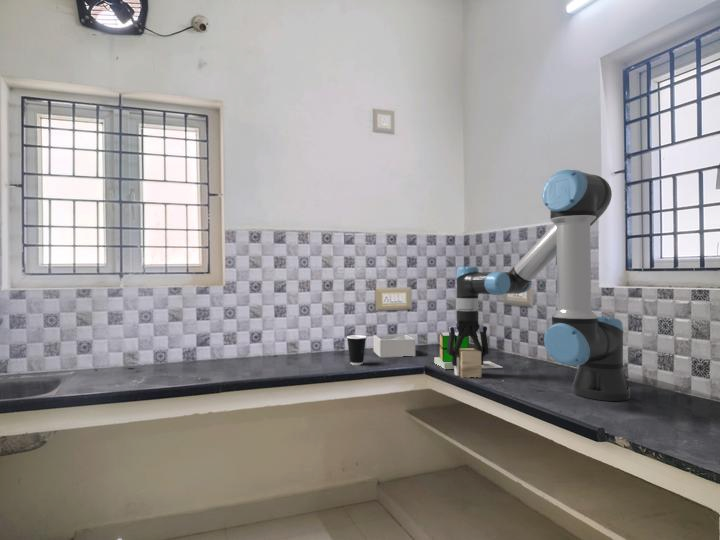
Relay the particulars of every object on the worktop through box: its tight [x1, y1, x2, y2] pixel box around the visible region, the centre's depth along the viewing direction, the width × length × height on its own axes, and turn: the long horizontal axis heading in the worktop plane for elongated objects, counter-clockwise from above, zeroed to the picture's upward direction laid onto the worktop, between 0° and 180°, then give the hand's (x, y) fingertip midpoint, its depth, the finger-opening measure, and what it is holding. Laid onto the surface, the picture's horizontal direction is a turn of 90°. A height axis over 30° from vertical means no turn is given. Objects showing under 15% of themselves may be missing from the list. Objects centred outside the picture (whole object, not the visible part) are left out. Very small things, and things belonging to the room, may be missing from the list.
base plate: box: [433, 356, 454, 370], centre depth 172 cm, size 12×12×2 cm
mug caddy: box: [373, 334, 416, 358], centre depth 199 cm, size 16×16×8 cm
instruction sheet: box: [481, 360, 504, 369], centre depth 174 cm, size 12×9×1 cm
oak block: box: [457, 347, 482, 379], centre depth 156 cm, size 7×7×9 cm
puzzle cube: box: [439, 331, 470, 362], centre depth 172 cm, size 10×10×10 cm
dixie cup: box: [346, 334, 367, 366], centre depth 176 cm, size 8×8×11 cm
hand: (467, 374), depth 156 cm, fingers open, 7 cm apart
